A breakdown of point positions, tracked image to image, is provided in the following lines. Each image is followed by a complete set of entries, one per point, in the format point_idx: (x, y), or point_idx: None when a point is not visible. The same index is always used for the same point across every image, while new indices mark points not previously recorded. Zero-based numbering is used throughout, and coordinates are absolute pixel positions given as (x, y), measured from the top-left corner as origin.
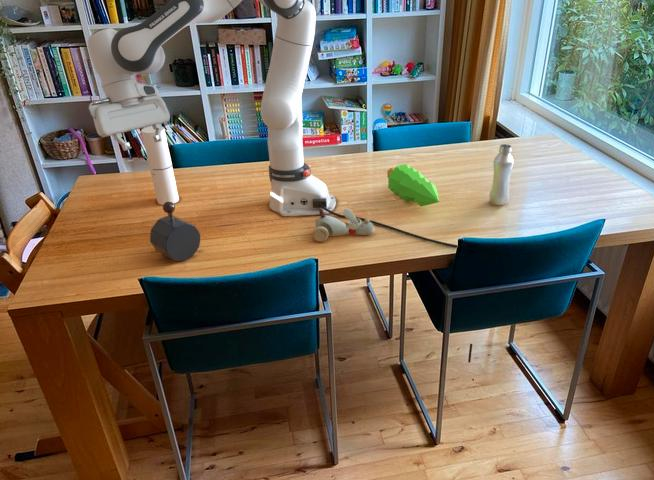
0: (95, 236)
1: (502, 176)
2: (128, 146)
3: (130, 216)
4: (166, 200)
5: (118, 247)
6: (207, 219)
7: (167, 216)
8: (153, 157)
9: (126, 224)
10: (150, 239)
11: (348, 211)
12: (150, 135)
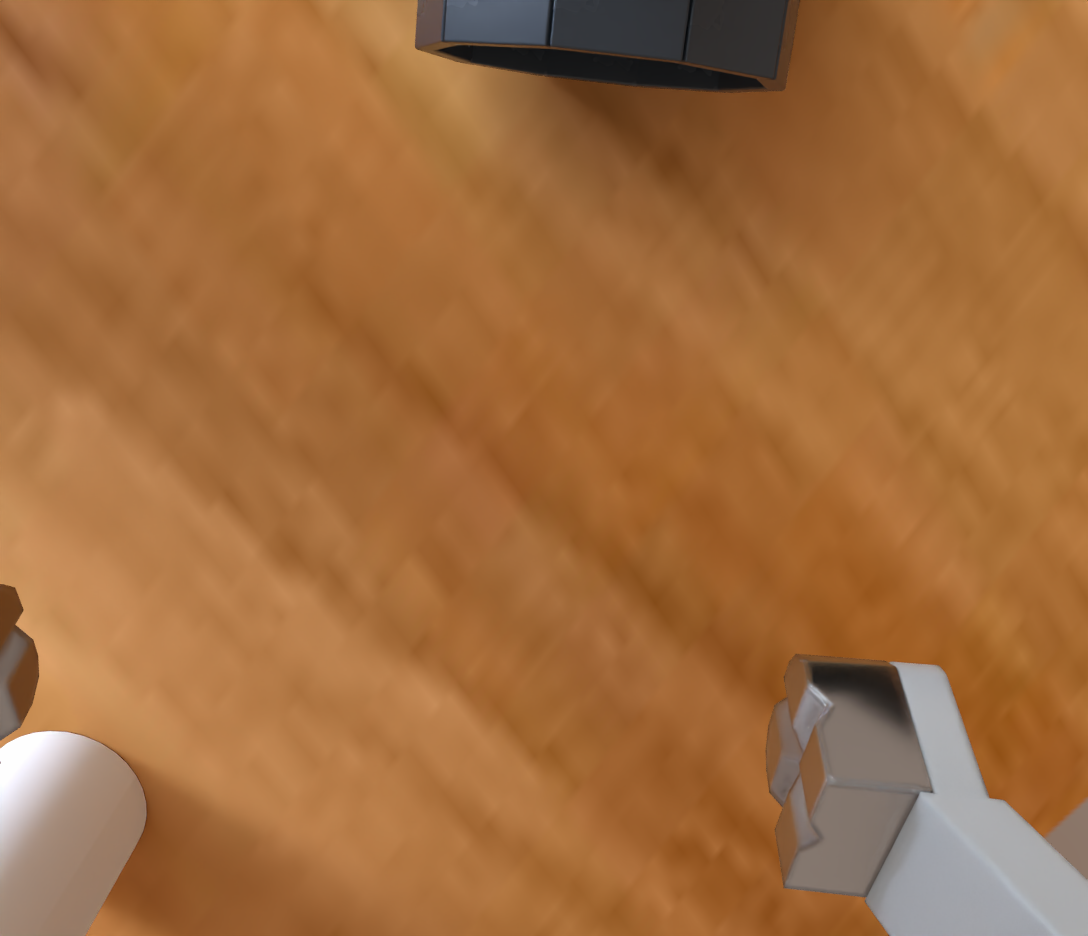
0: (750, 743)
1: None
2: (864, 696)
3: (411, 806)
4: (98, 771)
5: (774, 475)
6: (50, 274)
7: (584, 29)
8: None
9: (509, 725)
10: (785, 80)
11: None
12: None
